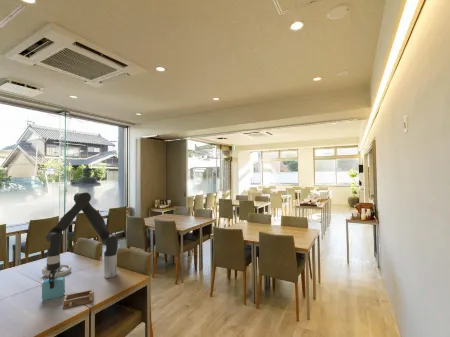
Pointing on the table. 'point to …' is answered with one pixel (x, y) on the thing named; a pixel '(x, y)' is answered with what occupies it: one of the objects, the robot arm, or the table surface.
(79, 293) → the caddy
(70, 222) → the robot arm
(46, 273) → the headphones
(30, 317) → the table surface
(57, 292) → the data package
